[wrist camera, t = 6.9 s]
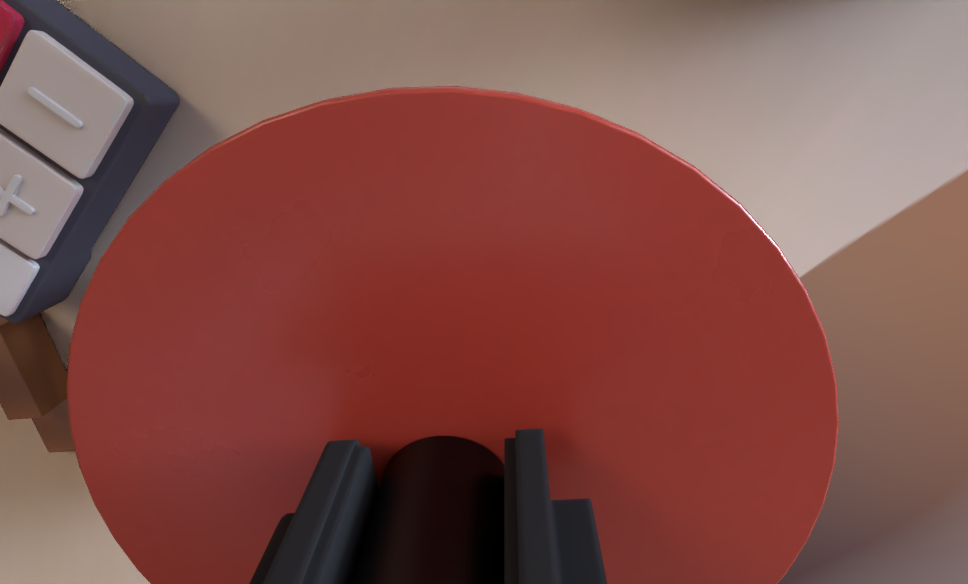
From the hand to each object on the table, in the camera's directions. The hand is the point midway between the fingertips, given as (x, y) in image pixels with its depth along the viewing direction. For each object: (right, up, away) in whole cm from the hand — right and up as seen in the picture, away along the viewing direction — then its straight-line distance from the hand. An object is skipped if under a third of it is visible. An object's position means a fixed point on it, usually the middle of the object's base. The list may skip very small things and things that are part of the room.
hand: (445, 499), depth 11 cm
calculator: (-23, +12, +19) cm, 32 cm away
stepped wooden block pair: (-27, -2, +24) cm, 36 cm away
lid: (0, 0, +1) cm, 1 cm away
